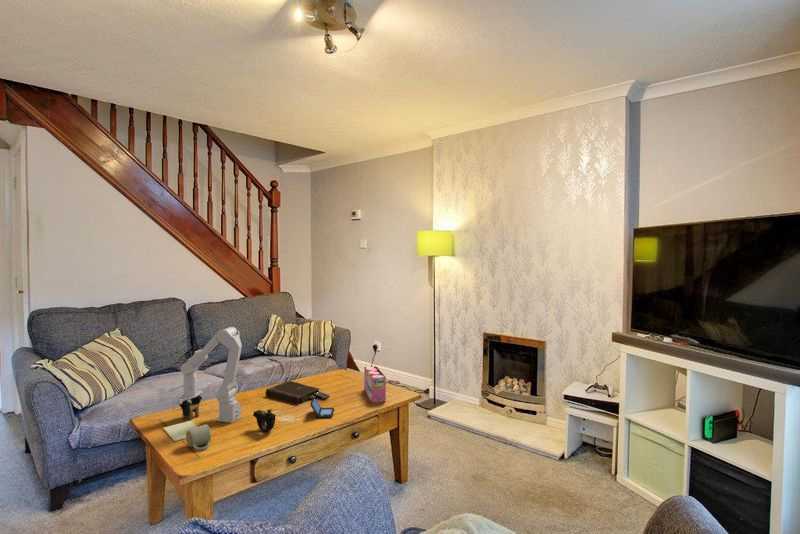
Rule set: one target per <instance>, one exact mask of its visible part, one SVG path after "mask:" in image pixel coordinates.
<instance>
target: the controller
mask: <svg viewBox="0 0 800 534" xmlns="http://www.w3.org/2000/svg"><path fill="white" fill-rule="evenodd" d="M272 411H273V409H267V410H266V411H265V410H261V409H258V410H255V411H253V414H252V415H253V417H254V418H255V419H256V422H257V423H256V424H257V426H258V428H259V429H260V430H261V431H262V432H265V433H266V432H269V431H272V429H274V426H275V424H276V423H275V422H276V416H277V415H276V414H275V413H273V412H272Z"/></svg>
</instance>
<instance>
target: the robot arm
mask: <svg viewBox="0 0 800 534" xmlns="http://www.w3.org/2000/svg"><path fill="white" fill-rule="evenodd" d="M219 344H222V345H224V346H225V347H226V348H227V349H228V355H227V360H226V364H225V365H226V366H225V370H224V375H223V380H222V383H221V384H220V386H219V389H218V391H217V392H216V394H215V398H216V400H217V402H218V416H219V417H217V418H216V419H215V420H214V421H215V422H223V423H229V424H231V423H234V422H236V421H237V420H239V419H241V418H243V417H242V414H241V413H242V409H241V408H242V405H241V402H239V401H238V400H236V395H237V394H238V387H237V385H238V383H237V381H236V377H237V373H238V368H239V362H240V357H241V354H242V348H243V346H242V345H243V344H242V341H241V337H240V331H239V330H238V329H237V328H236V327H234V326H228V327H227V328H224V329H221V330H218V331H217V333H215V334H214V336H213V337H212V338H211V339H210V340H209V341H208V342H207V344H205V346H204V347H203V348H202V349H198V350H195V351H194V352H193V355H192V356H191V357H189V358H188V359H187V362H184V363H182V365H181V366H180V372H181V373H182V374H183V394H182V396H181V397H180V398H178V399H176V404H177V405H179V407H180V409H181V411H183V412H182V415H183V414H184V416H187V417H189V407H190V404H191V403H193V404H199V405H200V403H201V401H202V399H203V395H204V391H203V390H201V389H200V390H198V388H197V387H198V385H197V384H198V383H197V375H198V374H197V373H198V370H199V369H200V366H201V365H202V364H203V363H204V362H205V361H206V360H207V359H208V355H209V353H210V352H211V351H212V350H214V348H215V347H217V345H219ZM190 401H191V402H190ZM193 413H195V409H194V410H193Z"/></svg>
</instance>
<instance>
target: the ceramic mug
mask: <svg viewBox="0 0 800 534" xmlns="http://www.w3.org/2000/svg"><path fill="white" fill-rule="evenodd" d="M185 441H186V443H187V444H186V445H187V446H188V447H189V448H194V449H195V450H196V451H198V450H202V451H205V450H207V449H208V448H209V446H210V443H211V441H212V435H211V429H210V427H209V425H208V424H203V425H200V426H198V427H196V428H193V429H191V430H189V431H187V433H186V439H185ZM203 445H205V446H203ZM199 446H203V447H199ZM204 449H205V450H204Z"/></svg>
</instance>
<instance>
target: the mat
mask: <svg viewBox="0 0 800 534" xmlns="http://www.w3.org/2000/svg"><path fill="white" fill-rule="evenodd" d="M196 427H199V426H198V425H197V424H196V423H194V421H193V420H188V421H184V422H182V423H177V424H173V425H168V426H165V427H162V429H163V430H164V432H165V431H166V434H168V436H169V437H170V438H171V439H172V441H174V442H175V441H176V442H179V441H178V440H180V441H182V440H181V439H183V440H186V439H185V438H186V433H187V431H189V430H191V429H193V428H196Z"/></svg>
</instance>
